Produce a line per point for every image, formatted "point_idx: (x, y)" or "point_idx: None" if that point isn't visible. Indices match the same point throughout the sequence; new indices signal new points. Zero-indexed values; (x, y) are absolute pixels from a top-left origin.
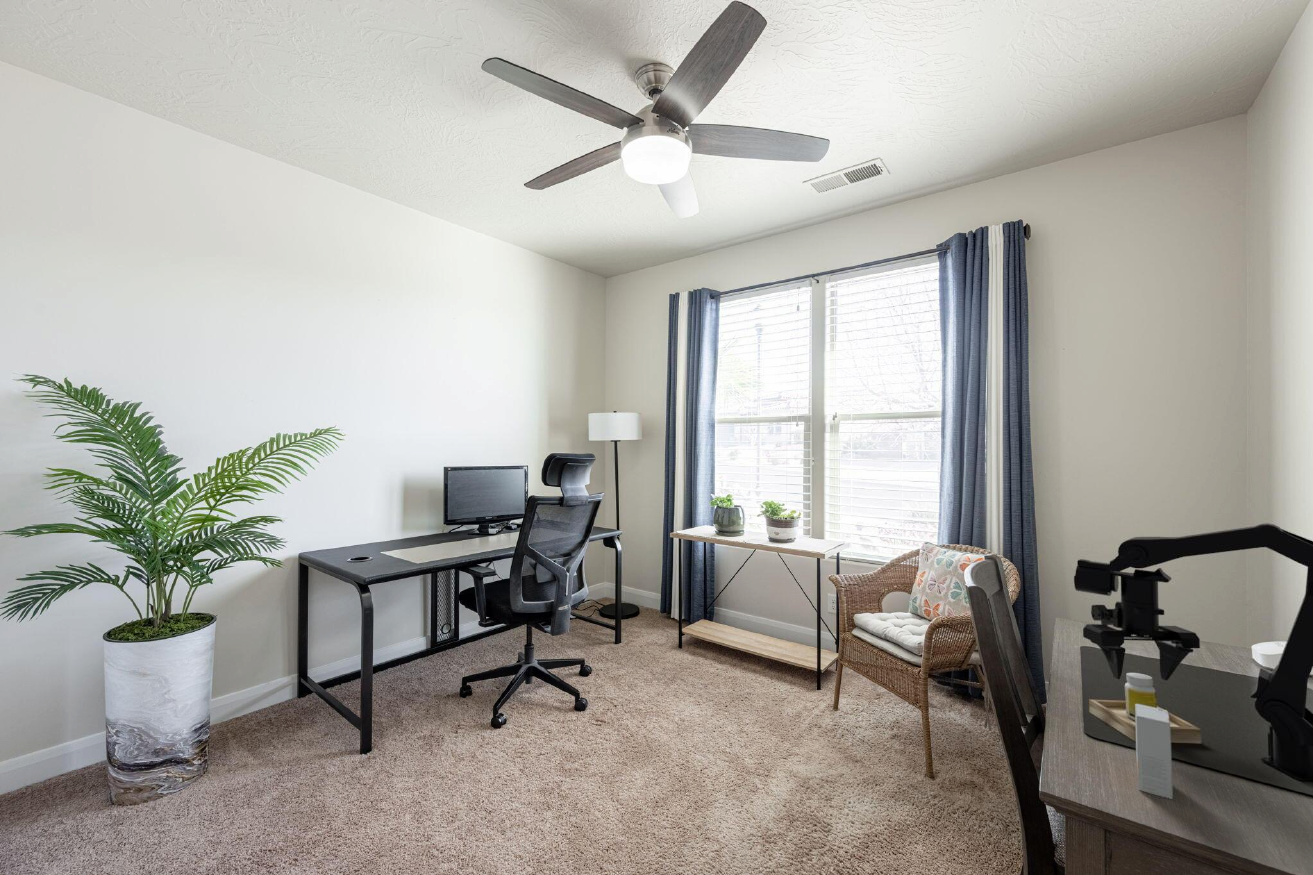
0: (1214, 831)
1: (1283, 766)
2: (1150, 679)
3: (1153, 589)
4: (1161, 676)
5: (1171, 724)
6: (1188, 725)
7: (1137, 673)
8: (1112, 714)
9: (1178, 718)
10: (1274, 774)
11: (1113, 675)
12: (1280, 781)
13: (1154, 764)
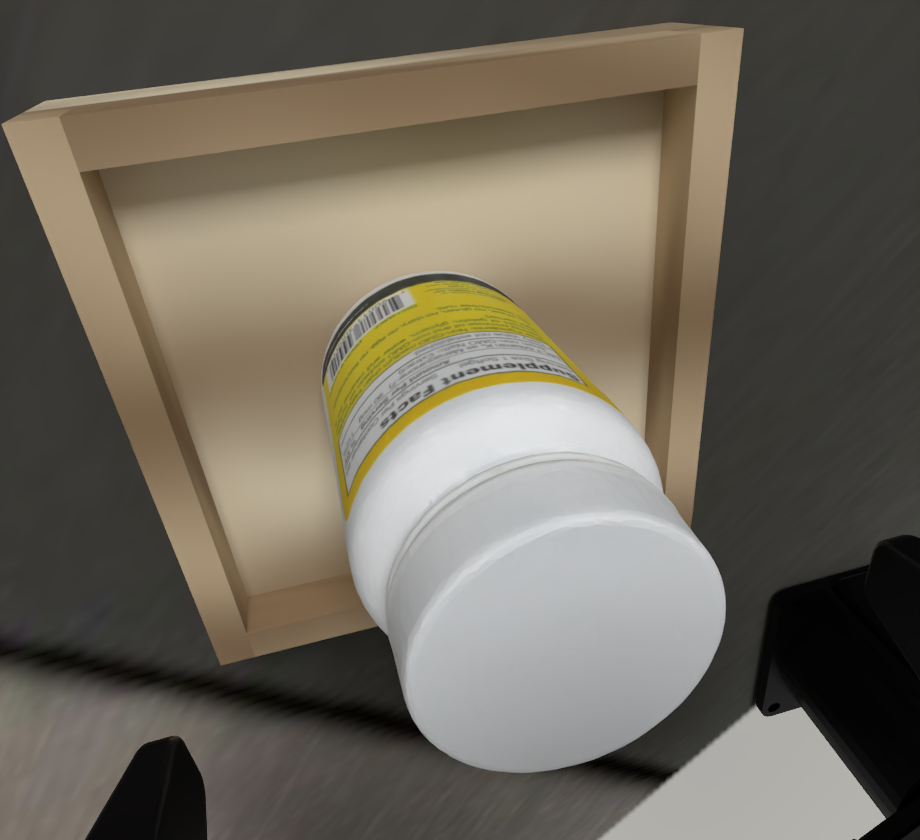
0: None
1: (785, 672)
2: (624, 741)
3: None
4: (896, 566)
5: (611, 394)
6: None
7: (636, 544)
8: (145, 476)
9: (689, 405)
10: (709, 685)
11: (129, 767)
12: (676, 728)
13: None
